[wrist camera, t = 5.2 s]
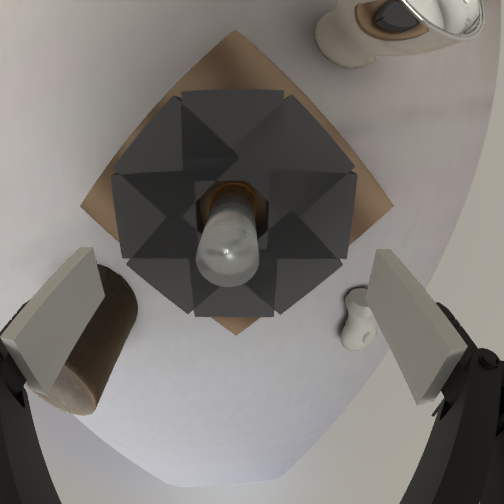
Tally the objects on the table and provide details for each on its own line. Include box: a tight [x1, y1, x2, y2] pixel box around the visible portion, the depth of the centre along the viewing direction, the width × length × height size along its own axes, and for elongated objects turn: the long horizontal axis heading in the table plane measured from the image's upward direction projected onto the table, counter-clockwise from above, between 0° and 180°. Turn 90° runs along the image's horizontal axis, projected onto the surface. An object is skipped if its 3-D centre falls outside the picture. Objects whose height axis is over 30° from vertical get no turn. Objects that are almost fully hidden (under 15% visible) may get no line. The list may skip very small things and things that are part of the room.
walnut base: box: [80, 30, 394, 335], centre depth 26 cm, size 21×21×2 cm
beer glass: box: [315, 0, 485, 68], centre depth 13 cm, size 7×7×15 cm
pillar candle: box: [25, 265, 138, 415], centre depth 25 cm, size 10×10×15 cm
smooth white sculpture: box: [341, 288, 378, 351], centre depth 31 cm, size 4×8×5 cm
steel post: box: [196, 181, 259, 287], centre depth 20 cm, size 4×4×11 cm
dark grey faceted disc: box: [111, 89, 358, 317], centre depth 22 cm, size 18×18×2 cm
